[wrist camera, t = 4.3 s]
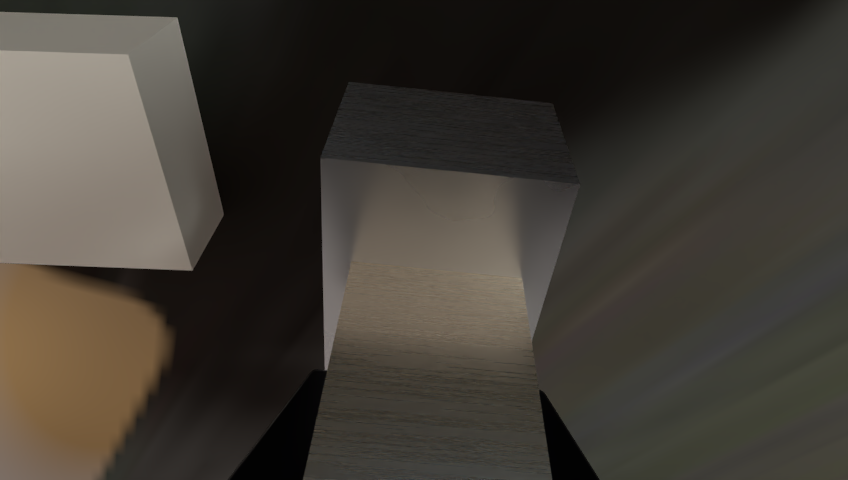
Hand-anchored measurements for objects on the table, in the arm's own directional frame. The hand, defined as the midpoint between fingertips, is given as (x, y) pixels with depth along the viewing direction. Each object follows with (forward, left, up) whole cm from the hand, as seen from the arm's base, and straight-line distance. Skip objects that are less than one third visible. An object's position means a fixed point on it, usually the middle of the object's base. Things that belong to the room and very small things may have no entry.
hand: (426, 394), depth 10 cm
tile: (+10, 0, -9) cm, 13 cm away
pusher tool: (0, 0, -5) cm, 4 cm away
